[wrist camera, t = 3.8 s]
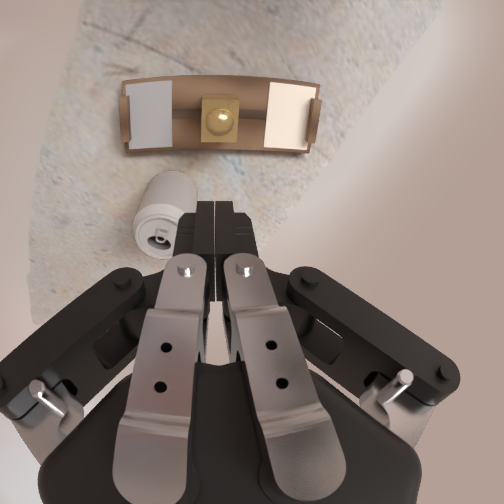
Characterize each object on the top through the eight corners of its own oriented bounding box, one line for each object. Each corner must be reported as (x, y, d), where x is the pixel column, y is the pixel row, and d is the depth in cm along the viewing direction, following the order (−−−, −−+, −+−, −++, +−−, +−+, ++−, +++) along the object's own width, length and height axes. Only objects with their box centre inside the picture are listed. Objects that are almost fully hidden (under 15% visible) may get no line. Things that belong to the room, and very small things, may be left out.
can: (142, 204, 40) (123, 254, 31) (156, 161, 36) (136, 202, 27) (188, 219, 43) (181, 271, 34) (205, 178, 39) (202, 223, 30)
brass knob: (203, 94, 30) (201, 100, 26) (236, 95, 30) (240, 101, 26) (202, 132, 33) (200, 144, 29) (234, 132, 33) (237, 145, 29)
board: (125, 80, 28) (118, 82, 26) (316, 83, 32) (323, 86, 29) (129, 149, 35) (123, 156, 32) (306, 150, 38) (312, 157, 36)
